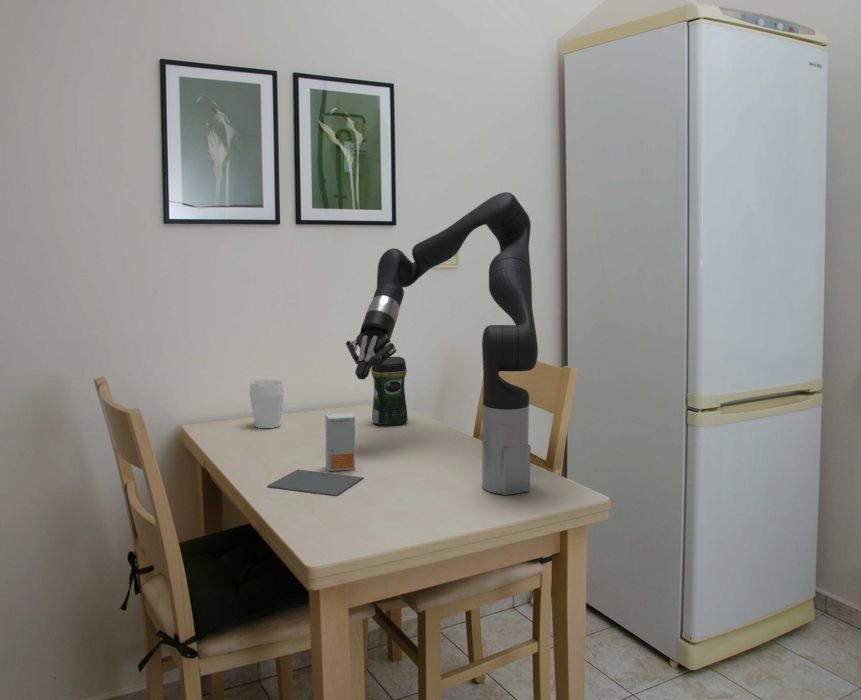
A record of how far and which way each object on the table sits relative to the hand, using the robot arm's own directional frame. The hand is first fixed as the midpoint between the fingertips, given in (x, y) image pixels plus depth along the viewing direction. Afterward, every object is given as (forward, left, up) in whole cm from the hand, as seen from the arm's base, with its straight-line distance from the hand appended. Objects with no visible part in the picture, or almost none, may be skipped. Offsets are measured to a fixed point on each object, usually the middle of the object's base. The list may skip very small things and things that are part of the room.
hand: (360, 377), depth 174 cm
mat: (-15, +16, -19) cm, 29 cm away
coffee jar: (+27, -19, -19) cm, 38 cm away
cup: (+39, +12, -19) cm, 45 cm away
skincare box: (-7, +8, -19) cm, 22 cm away
